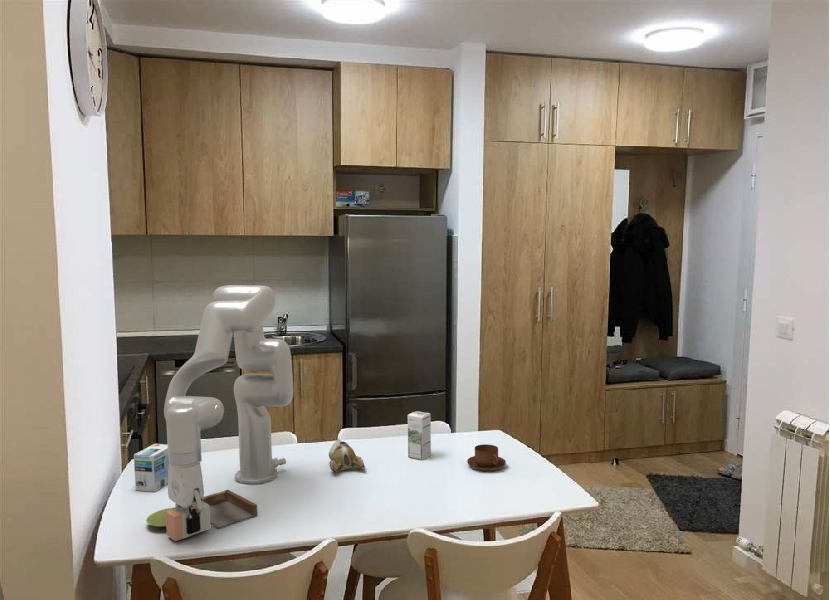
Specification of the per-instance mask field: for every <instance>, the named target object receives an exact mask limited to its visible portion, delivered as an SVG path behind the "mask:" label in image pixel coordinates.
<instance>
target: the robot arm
mask: <svg viewBox="0 0 830 600" xmlns="http://www.w3.org/2000/svg"><path fill="white" fill-rule="evenodd" d="M213 300H214V301H213V302H210V303H209V304H207V305H206V307H205V309H204V310H203V314H202V319H201V323H200V328H199V332H198V336H197V339H196V340H197V341H196V346H195V351H194V353H193V355H192V357H191V358H189V359H188V360H187V361H185V363H184V364H183V365H182V366H181V367H180V368H179V369H178V370H177V372H176V373H175V374H174V376H173V377H172V379H171V381H170V382H169V385H168V388H167V393H166V397H165V400H164V406H163V407H164V408H163V416H164V419H165V422H166V423H165V425H166V438H167V439H166V440H167V443H166V444H167V445H168V462H169V466H168V484H167V495H168V499H169V500H170V501H172V502H174V503H175V505H174V507H175V508H177V507H180V506H181V507H183V508H186V509H187V515H188V518H186V524H187V534H192V533H195V532H198V531H200V529H201V528H200V515H201V511H202V510H203V509H204V507H203V504H202V502H203V500H204V497H205V493H204V492H205V491H204V480H203V479H204V478H203V472H202V466H201V462H202V442H201V431H202V430H206V429H210V428H213V427H215V426H216V425H218V424H219V423H220V422H221V420H222V419H223V417H224V414H225V407H224V404H223V403H222V401H221V400H220V399H218V398H216V397H213V396H198V395H197V396H196V395H195V396H193V395H186V394H187V391H188V390H189V387H190V386H191V385H192V383H193V382H194V381H195V380H196V379H197V378H199V377H201V376H202V375H204V374H206V373H208V372H210V371H212V370H215V369H217V368H220V367H222V366H223V365H225V364H226V363H227V362H228V360H229V355H230V351H231V345H232V341H234V349H235V350H234V351H235V358H236V364H237V366H238V368H239V369H241V370H244V371H253V372H254V371H255V372H271V373H255V372H254V373H245V374H241V375H239V376H238V377H237V378H236V379H235V381H234V385H233V394H234V400H235V404H236V410H237V423H238V424H237V425H238V448H239V449H238V450H239V470H238V471H236V473H235V474H234V479H235V481H237V482H238V483H240V484H247V485H248V484H249V485H252V484H253V485H254V484H255V485H257V484H262V483H263V484H264V483H267V482H270V481H272V480H274V479H275V478H277V476H278V473H279V471H278V469H276V468H278V466H282V465H286V464H287V460H286V458H285V457H283V458H279V459H278V458H277V457H274V458H273V448H272V446H273V444H272V420H271V415H270V413H269V411H268V409H267V408H266V407H286V406H288V405H289V404H291V402H292V400H293V398H294V379H293V378H294V377H293V366H292V354H291V353H292V352H291V349H290V346H289V344H288V343H287V341H285V340H284V339H280V338H279V339H278V338H266V337H265V333H264V325H263V323H265V321H266V320H267V319H268V318H269V316H270V315H271V314H272V313H273V311H274V309H275V305H276V300H277V299H276V294H275V292H274V290H273V289H272V288H271V287H269V286H267V285H260V284H258V285H256V284H255V285H243V284H231V285H230V284H228V285H221V286H219V287H217V288H216V289H215V290H214V292H213ZM193 501H194V503H193V504H192V502H193ZM194 506H195V509H193V510H192V512H191V507H194Z"/></svg>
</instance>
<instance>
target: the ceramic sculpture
mask: <svg viewBox="0 0 830 600" xmlns="http://www.w3.org/2000/svg"><path fill="white" fill-rule="evenodd" d="M328 458H329V460H330V461H329V467H330V470H331V471H332V472H334V473H339V472H340V471H343V470H345V471H346V470H349V469H352V468H355V469H357V470H358V469H359V470H361V469H365V468H366V466H365V463H364V460H363V459H362V458H361V457H360V456H357V455H356V453H355V451H354V449H353V448H352V447H351V446H350V445H349V444H348V442H345V441H342V440H340V439H336V441H335V442H334V443H332V445H331V447H330V448H329V451H328Z"/></svg>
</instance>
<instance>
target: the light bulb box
mask: <svg viewBox="0 0 830 600" xmlns="http://www.w3.org/2000/svg"><path fill="white" fill-rule="evenodd" d="M133 463H134V464H133V465H134V466H133V467H134V483H135V487H134V488H135V491H142V492H152V493H153V492H154V493H155V492H157V491H159V490H161V489H162V488H164V487H166V486H168V466H169V462H168V444H163V443H153V444H151V445H149V446H148V447H146V448H143V450H142V449H141V450H140V451H138V452H136V453H134V454H133Z"/></svg>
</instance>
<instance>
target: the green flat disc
mask: <svg viewBox="0 0 830 600" xmlns="http://www.w3.org/2000/svg"><path fill="white" fill-rule="evenodd" d="M174 508H175V506H174V507H170V508H164V509H160V510H158V511H155V512H153V513H151V514H150V515H149V516H147V518H146V523H147V524H148V525H150V526H154V527H166V511H168V510H171V509H174Z"/></svg>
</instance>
